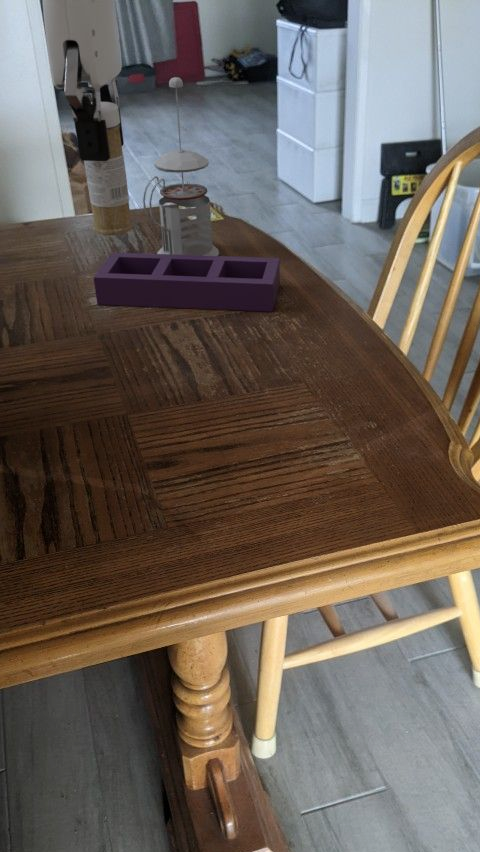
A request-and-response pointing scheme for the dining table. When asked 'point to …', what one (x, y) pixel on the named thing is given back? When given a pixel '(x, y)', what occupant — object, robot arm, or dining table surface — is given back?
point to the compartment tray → (188, 281)
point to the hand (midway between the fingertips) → (102, 151)
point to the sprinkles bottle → (109, 181)
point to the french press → (183, 202)
